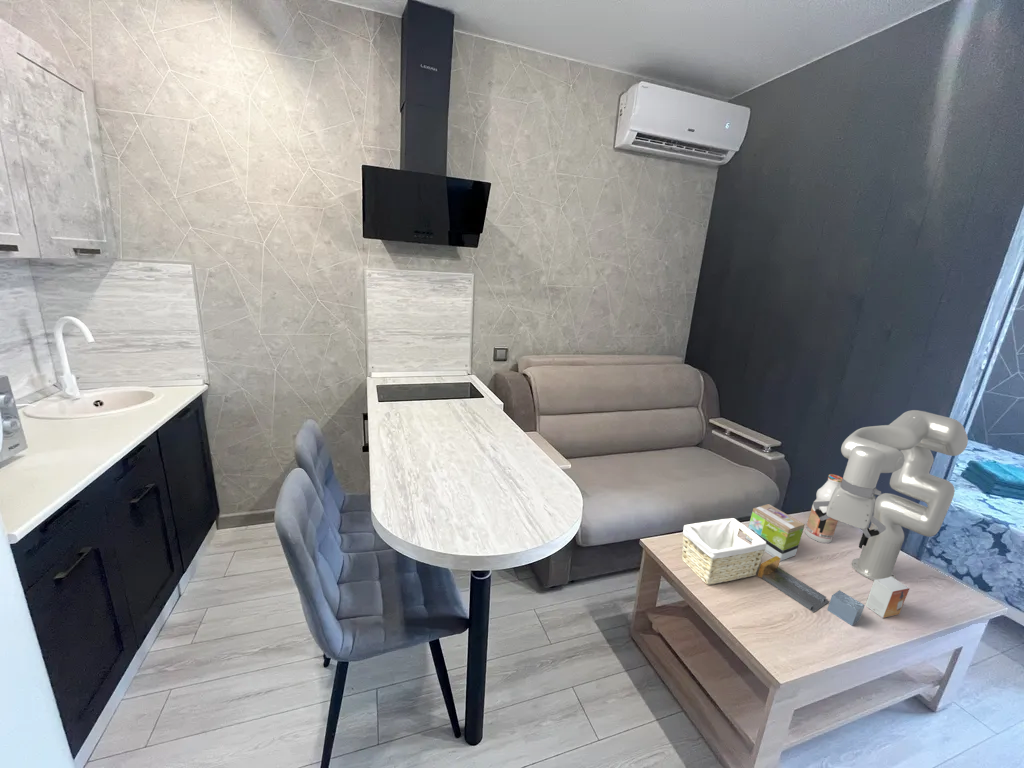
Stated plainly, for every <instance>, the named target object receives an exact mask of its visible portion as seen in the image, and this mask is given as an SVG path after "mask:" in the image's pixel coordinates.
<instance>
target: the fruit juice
mask: <svg viewBox="0 0 1024 768" xmlns="http://www.w3.org/2000/svg"><path fill="white" fill-rule="evenodd" d="M842 479H843V477H842V476H840V475H838V474H833V473H830V474H828V476H827V480H826V482H825V483H824V484H823V485H822V486H821V487H820V488H818V489H817V491H816V496H815V497H816V499H815V500H814V501H813V503H814V502H817V501H830V499H831V496H832V494H833V492H834V490H835V488H836V487H837V485H841V482H842ZM827 507H828V506H823V507H820V509H821V511H822V512H823V513H825V512H827ZM819 522H820V519H819V517H818V515H817V514H816V512H815V509H814V506H813V504H812V505H811V509H810V513H809V516H808V519H807V523H806V524H805V525H806V526H805V528H804V529H805V530H804V531H805V534H806V536H807V537H809V538H810V539H811V540H813V541H815V542H818V543H822V544H830V543H832V541H833V538H834V535H835V531H836V529H837V525H838V523H839V521H837V520H835V519H832V518H829V519H827V520H826V523H825V526H824V529H823V532H822V533H820V528H818V525H819Z"/></svg>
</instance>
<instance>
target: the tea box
mask: <svg viewBox="0 0 1024 768" xmlns="http://www.w3.org/2000/svg"><path fill="white" fill-rule="evenodd" d="M805 525H806V524H805V523H803V522H801V521H799V520H798V519H796V518H794V517H792V516H791V515H789V514H787V513H785V512H784V511H782V510H780V509H778V508H777V507H774V505H771V504H769V503H768V504H763V505H760V506H758V507H753V508H752V512H751V515H750V520H749V523H748V527H747V528H749V529H750V530H752V531H753V532H754V533H755V534H757V535H758V536H759V537H761V538H762V539H763V540H764V541H766V549H765V551H764V553H767V555H770V556H771V557H772V558H773V557H775V556H777V557H779V558H781V559H780V562H781V561H784V560H786V559H790V558H792V557H794V556H796V554H797V551H798V548H799V546H800V541H801V539H802V535H803V532H804V529H805V527H806V526H805ZM745 539H746V540H748V541H749V542H751V543H752V539H750V538H749V537H748V536H747V535H745Z"/></svg>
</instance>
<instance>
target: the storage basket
mask: <svg viewBox="0 0 1024 768" xmlns="http://www.w3.org/2000/svg"><path fill="white" fill-rule="evenodd" d="M682 530H683V531H682V551H681V552H682V553H681V560H682V561H683V563H684V564H685V565H686V566H687V567H688V568H690V570H691V571H692V572H693V573H694V574H695V575H696V576H697V577H698V578H700V580H701V581H702V582H704V583H705V584H706V585H708V586H710V585H715V584H721V583H726V582H729V581H731V582H732V581H734V580H739V579H745V578H749V577H753V576H757V573H758V568H760V564H761V561H762V557H763V555H764V553H765V549H766V541H764V540H763V539H762V538H761V537H759V536H758V535H757V534H755V533H754V532H753V531H752V530H750V529H749V528H748V527H747V526H746V525H745V524H744V523H741V522H740V521H739V520H738V519H736V518H734V517H731V518H720V519H716V520H709V521H702V522H695V523H690V524H684V525H683V529H682ZM740 532H741V533H742V534H743V535H745V536H746V535H747V536H748V537H749V538H750V539H752V542H751V544H750V543H749V542H747V541H745V540H744V539H743V538H741V537H739V534H740Z"/></svg>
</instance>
